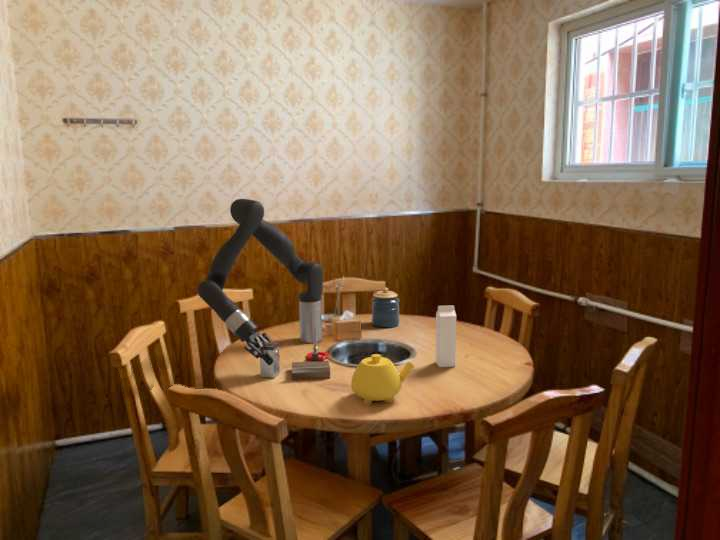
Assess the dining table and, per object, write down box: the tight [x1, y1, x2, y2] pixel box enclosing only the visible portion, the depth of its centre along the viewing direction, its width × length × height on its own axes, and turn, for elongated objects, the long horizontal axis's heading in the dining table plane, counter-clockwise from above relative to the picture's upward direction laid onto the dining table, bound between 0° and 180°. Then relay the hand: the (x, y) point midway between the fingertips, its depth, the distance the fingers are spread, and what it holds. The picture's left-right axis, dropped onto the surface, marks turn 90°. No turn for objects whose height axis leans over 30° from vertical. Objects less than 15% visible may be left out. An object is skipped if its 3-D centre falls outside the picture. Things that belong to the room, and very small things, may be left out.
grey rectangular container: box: [259, 341, 281, 379], centre depth 189 cm, size 6×5×11 cm
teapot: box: [350, 353, 415, 405], centre depth 170 cm, size 20×16×14 cm
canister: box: [371, 287, 400, 328], centre depth 254 cm, size 13×13×18 cm
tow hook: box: [306, 327, 330, 362], centre depth 209 cm, size 8×13×9 cm
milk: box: [435, 305, 457, 368], centre depth 198 cm, size 6×6×22 cm
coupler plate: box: [291, 360, 331, 381], centre depth 192 cm, size 11×13×4 cm
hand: (274, 360), depth 189 cm, fingers closed on grey rectangular container, 5 cm apart
